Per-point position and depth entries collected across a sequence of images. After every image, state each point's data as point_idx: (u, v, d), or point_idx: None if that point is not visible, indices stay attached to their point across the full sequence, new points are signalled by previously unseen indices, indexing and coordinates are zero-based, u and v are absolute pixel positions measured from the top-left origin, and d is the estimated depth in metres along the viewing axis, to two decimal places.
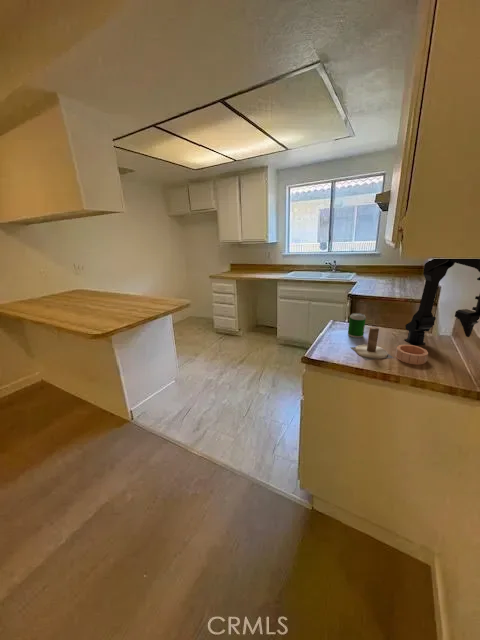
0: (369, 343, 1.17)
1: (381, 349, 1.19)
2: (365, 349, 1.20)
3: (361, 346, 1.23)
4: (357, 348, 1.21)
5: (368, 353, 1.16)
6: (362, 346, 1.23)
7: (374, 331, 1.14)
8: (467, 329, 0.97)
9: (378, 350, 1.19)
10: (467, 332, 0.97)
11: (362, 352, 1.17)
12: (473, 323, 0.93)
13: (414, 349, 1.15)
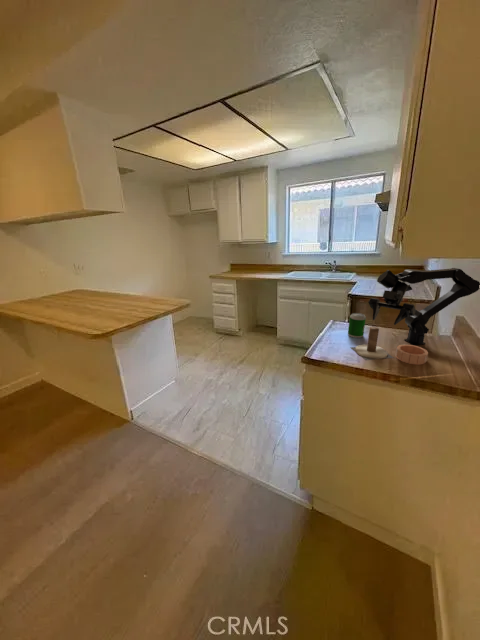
0: (369, 343, 1.17)
1: (381, 349, 1.19)
2: (365, 349, 1.20)
3: (361, 346, 1.23)
4: (357, 348, 1.21)
5: (368, 353, 1.16)
6: (362, 346, 1.23)
7: (374, 331, 1.14)
8: None
9: (378, 350, 1.19)
10: None
11: (362, 352, 1.17)
12: (372, 304, 1.24)
13: (414, 349, 1.15)
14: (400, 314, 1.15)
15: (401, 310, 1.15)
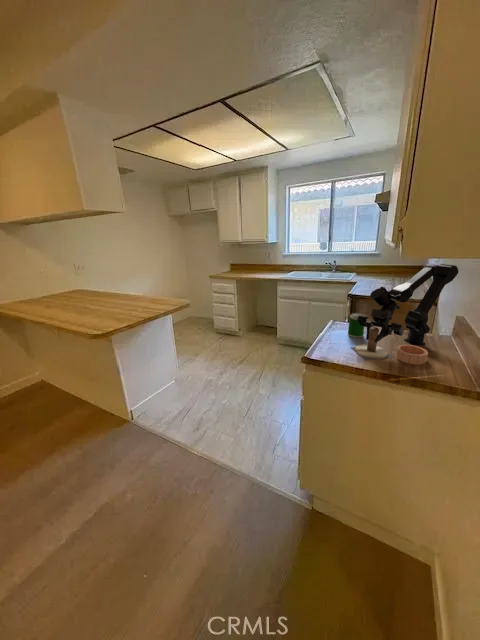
0: (369, 343, 1.17)
1: (381, 349, 1.19)
2: (365, 349, 1.20)
3: (361, 346, 1.23)
4: (357, 348, 1.21)
5: (368, 353, 1.16)
6: (362, 346, 1.23)
7: (374, 331, 1.14)
8: None
9: (378, 350, 1.19)
10: None
11: (362, 352, 1.17)
12: (366, 323, 1.19)
13: (414, 349, 1.15)
14: (381, 332, 1.14)
15: (382, 328, 1.14)
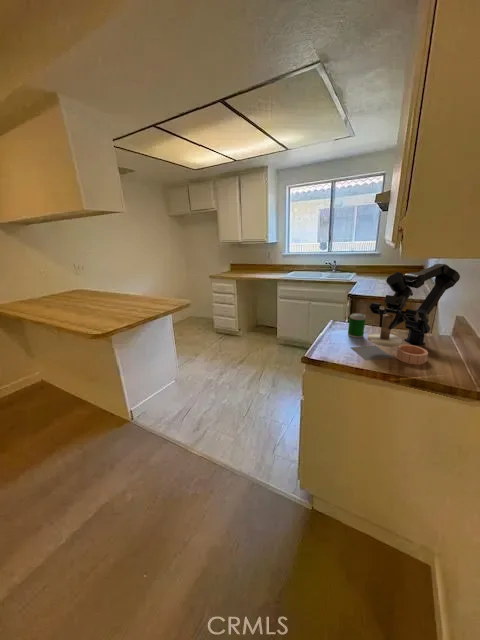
0: (382, 330, 1.13)
1: (395, 337, 1.16)
2: (378, 337, 1.16)
3: (374, 334, 1.19)
4: (370, 336, 1.18)
5: (381, 341, 1.12)
6: (375, 334, 1.19)
7: (388, 318, 1.10)
8: None
9: (392, 338, 1.15)
10: None
11: (375, 340, 1.14)
12: (379, 310, 1.15)
13: (414, 349, 1.15)
14: (395, 319, 1.11)
15: (396, 315, 1.10)
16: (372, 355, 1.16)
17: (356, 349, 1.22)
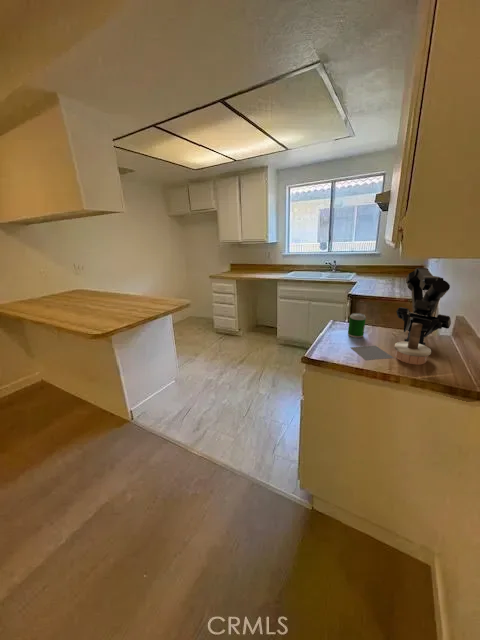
0: (411, 340, 1.10)
1: (423, 346, 1.12)
2: (406, 346, 1.13)
3: (400, 343, 1.16)
4: (397, 345, 1.14)
5: (410, 350, 1.09)
6: (401, 343, 1.16)
7: (418, 327, 1.07)
8: (404, 324, 1.13)
9: (420, 347, 1.11)
10: (404, 327, 1.12)
11: (403, 349, 1.10)
12: (403, 314, 1.13)
13: None
14: (431, 326, 1.05)
15: (432, 321, 1.05)
16: (372, 355, 1.16)
17: (356, 349, 1.22)
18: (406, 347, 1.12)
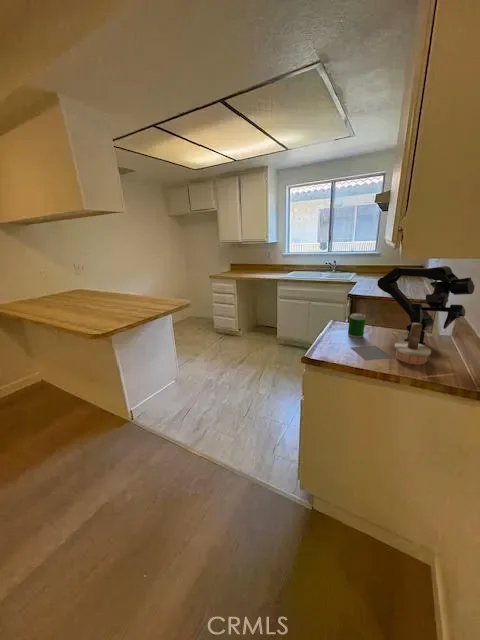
0: (411, 340, 1.10)
1: (423, 346, 1.12)
2: (406, 346, 1.13)
3: (400, 343, 1.16)
4: (397, 345, 1.14)
5: (410, 350, 1.09)
6: (401, 343, 1.16)
7: (418, 327, 1.07)
8: None
9: (420, 347, 1.11)
10: None
11: (403, 349, 1.10)
12: (414, 309, 1.17)
13: None
14: (448, 317, 1.08)
15: (449, 313, 1.08)
16: (372, 355, 1.16)
17: (356, 349, 1.22)
18: (406, 347, 1.12)
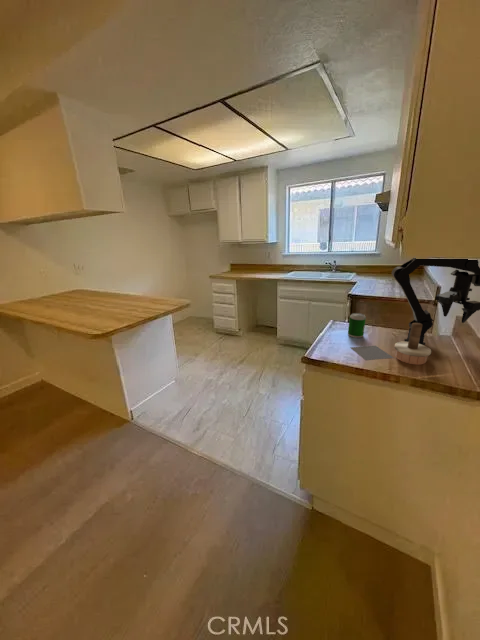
0: (411, 340, 1.10)
1: (423, 346, 1.12)
2: (406, 346, 1.13)
3: (400, 343, 1.16)
4: (397, 345, 1.14)
5: (410, 350, 1.09)
6: (401, 343, 1.16)
7: (418, 327, 1.07)
8: None
9: (420, 347, 1.11)
10: None
11: (403, 349, 1.10)
12: None
13: None
14: (464, 313, 1.15)
15: (463, 310, 1.14)
16: (372, 355, 1.16)
17: (356, 349, 1.22)
18: (406, 347, 1.12)
